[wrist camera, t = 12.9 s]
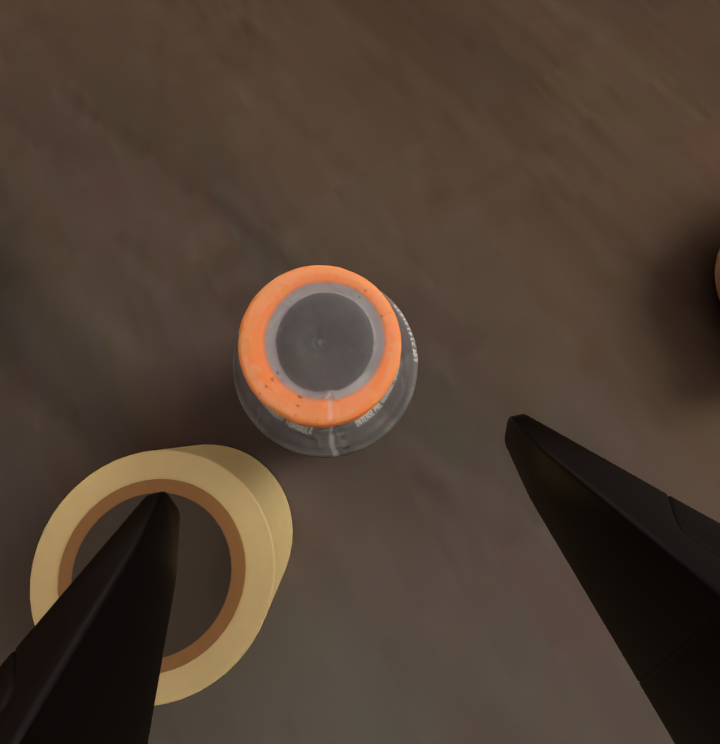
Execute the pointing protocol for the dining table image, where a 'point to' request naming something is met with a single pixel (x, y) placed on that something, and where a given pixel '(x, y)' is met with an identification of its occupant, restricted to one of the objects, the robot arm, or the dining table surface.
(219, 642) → the tape roll
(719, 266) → the oil lamp
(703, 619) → the robot arm
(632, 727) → the dining table surface
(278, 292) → the pill bottle
